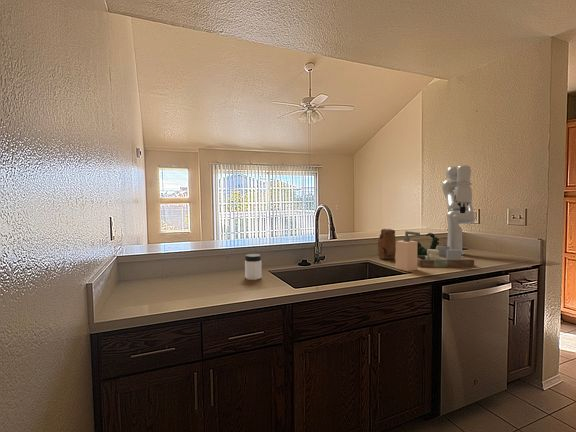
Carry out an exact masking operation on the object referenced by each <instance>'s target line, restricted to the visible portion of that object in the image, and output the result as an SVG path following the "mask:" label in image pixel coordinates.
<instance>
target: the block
mask: <svg viewBox="0 0 576 432" xmlns="http://www.w3.org/2000/svg"><path fill="white" fill-rule="evenodd" d="M396 241H397V240H396V231H395V230H394V229H391V228H382V229H380V235H379V236H378V241H377V253H378V254H377V255H378V257H379V259H380V260H393V259H396Z"/></svg>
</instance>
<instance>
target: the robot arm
mask: <svg viewBox="0 0 576 432" xmlns="http://www.w3.org/2000/svg"><path fill="white" fill-rule="evenodd" d="M445 176H446V178H447V179H446V180H445V179H444V181H443V182H442V185H441V187H442V193H443V194H444V197H445V198H446V204H447V209H448V212H447V213H446V220H447V245H446V246H450V250H461V256H463V255H465V252H464V251H463V228H462V227H461V225H463V224H465V225H466V224H467V225H470V224H473V223H474V222H475V213H474V208H473V204H472V200H473V193H472V187H471V186H472V185H473V183H472V182H471V176H472V169H471V166H470V165H465V164H464V165H458V166H457V165H456V166H448V167H447V168H446V170H445ZM460 224H461V225H460Z"/></svg>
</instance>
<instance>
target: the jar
mask: <svg viewBox="0 0 576 432" xmlns="http://www.w3.org/2000/svg"><path fill="white" fill-rule="evenodd" d="M262 263H263V262H262V255H261V254H260V253H249V254H245V255H244V277H245V279H246V280H247V281H248V280H251V281H256V280H260V279H262V278H263V277H262V275H263V273H262V269H263V268H262V267H263V266H262Z"/></svg>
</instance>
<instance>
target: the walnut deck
mask: <svg viewBox="0 0 576 432" xmlns="http://www.w3.org/2000/svg"><path fill="white" fill-rule="evenodd" d="M417 267H419V268H431V267H432V268H435V267H436V268H442V267H443V268H445V267H446V268H448V267H452V268H455V267H459V268H460V267H462V268H463V267H464V268H465V267H475V259H473V258H470V257H467V256H463V255H461V260H446V256H439V259H430V258H428V257H427V256H417Z"/></svg>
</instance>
